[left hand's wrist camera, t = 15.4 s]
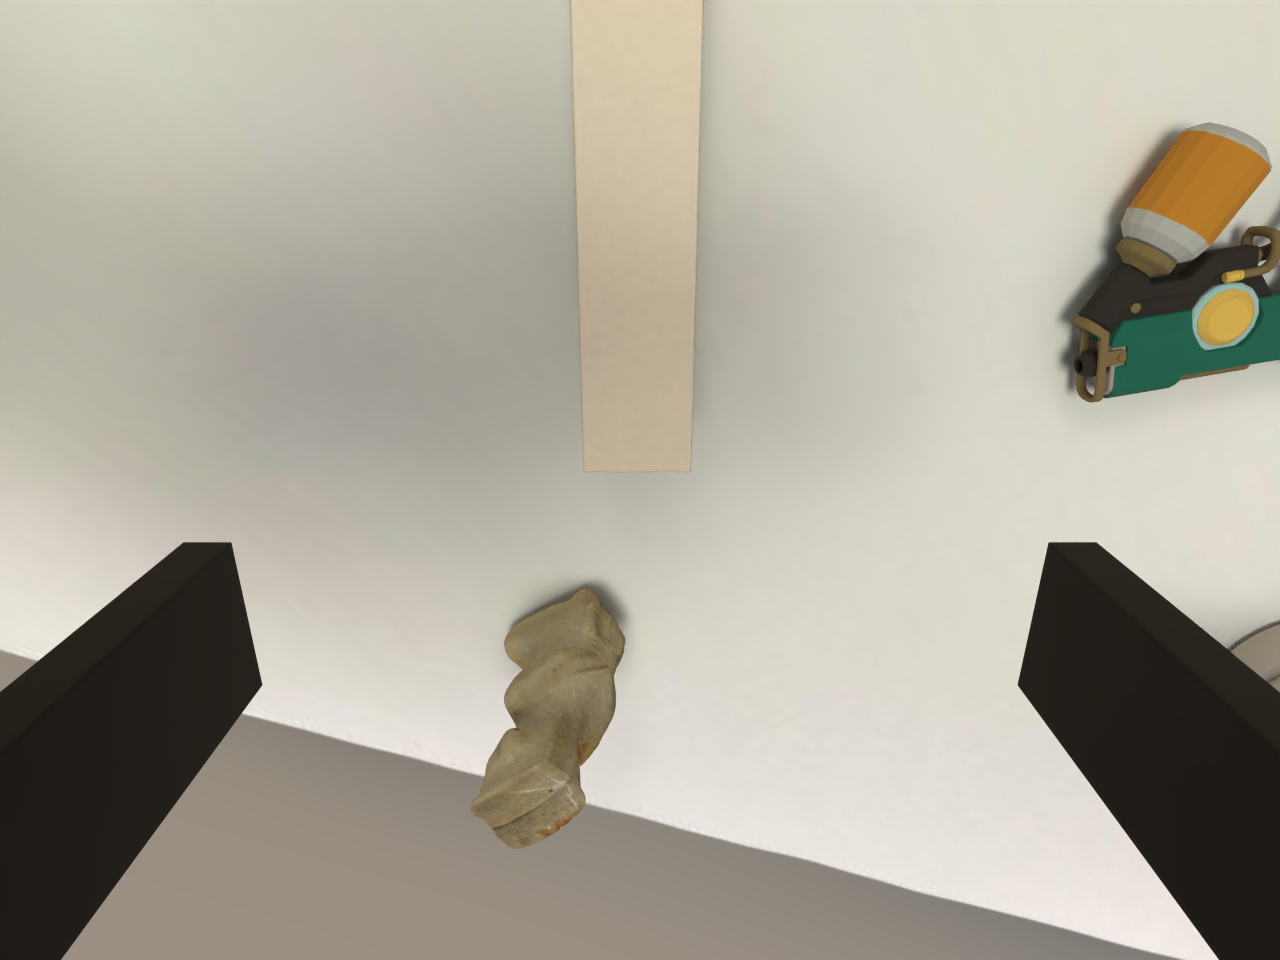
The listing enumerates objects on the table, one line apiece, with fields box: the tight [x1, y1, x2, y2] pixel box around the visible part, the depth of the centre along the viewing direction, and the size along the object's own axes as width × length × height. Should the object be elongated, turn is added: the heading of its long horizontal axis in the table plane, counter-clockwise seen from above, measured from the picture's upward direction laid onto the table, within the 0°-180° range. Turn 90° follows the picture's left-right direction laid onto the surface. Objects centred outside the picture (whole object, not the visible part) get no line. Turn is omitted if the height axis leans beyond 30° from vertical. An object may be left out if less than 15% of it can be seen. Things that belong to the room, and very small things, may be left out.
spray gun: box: [1071, 123, 1280, 402], centre depth 39 cm, size 4×17×15 cm
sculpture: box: [470, 588, 625, 848], centre depth 42 cm, size 6×7×15 cm
